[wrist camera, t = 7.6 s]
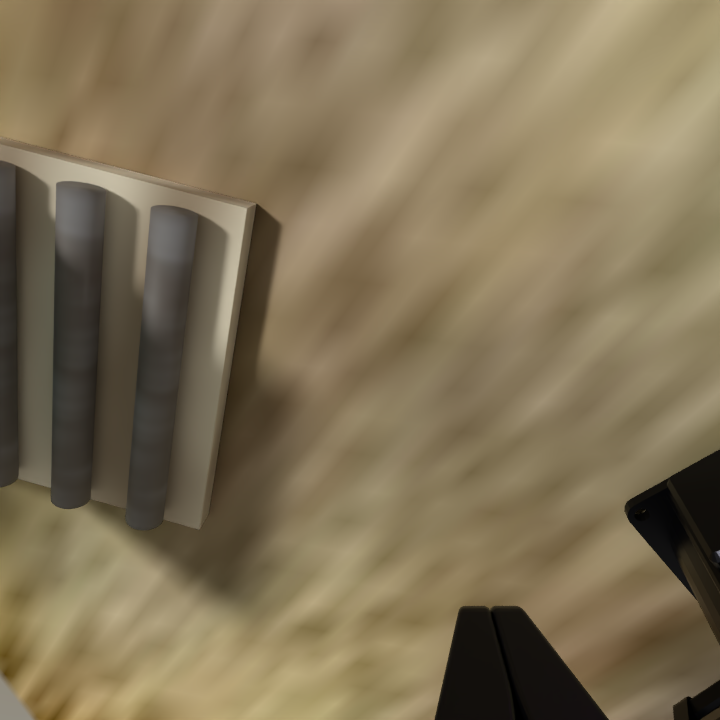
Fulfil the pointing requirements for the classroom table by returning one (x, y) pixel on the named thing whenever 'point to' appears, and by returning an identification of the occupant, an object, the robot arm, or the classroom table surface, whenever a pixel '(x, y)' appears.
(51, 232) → the roller track
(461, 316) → the classroom table surface
